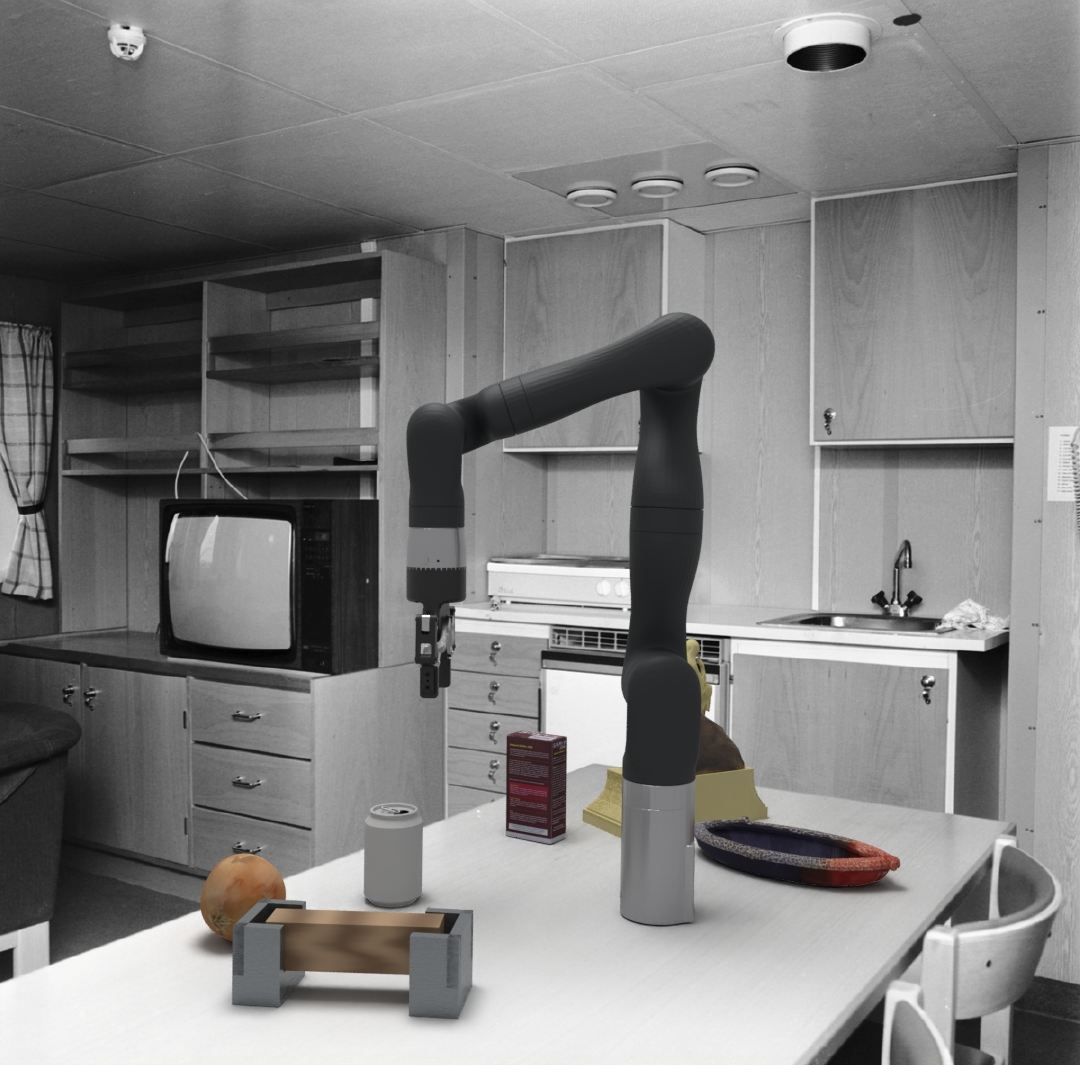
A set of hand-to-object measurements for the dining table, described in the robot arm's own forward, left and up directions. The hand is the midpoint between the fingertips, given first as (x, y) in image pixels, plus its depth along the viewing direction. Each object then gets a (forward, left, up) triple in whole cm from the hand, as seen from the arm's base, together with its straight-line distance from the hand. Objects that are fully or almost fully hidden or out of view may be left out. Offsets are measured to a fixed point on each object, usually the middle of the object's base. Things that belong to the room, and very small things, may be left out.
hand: (435, 692), depth 146 cm
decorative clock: (-31, -48, -28) cm, 63 cm away
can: (+6, -3, -28) cm, 29 cm away
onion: (+20, +13, -28) cm, 37 cm away
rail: (+3, +26, -25) cm, 36 cm away
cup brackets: (+3, +26, -28) cm, 38 cm away
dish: (-47, -24, -28) cm, 60 cm away
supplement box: (-9, -34, -28) cm, 45 cm away
